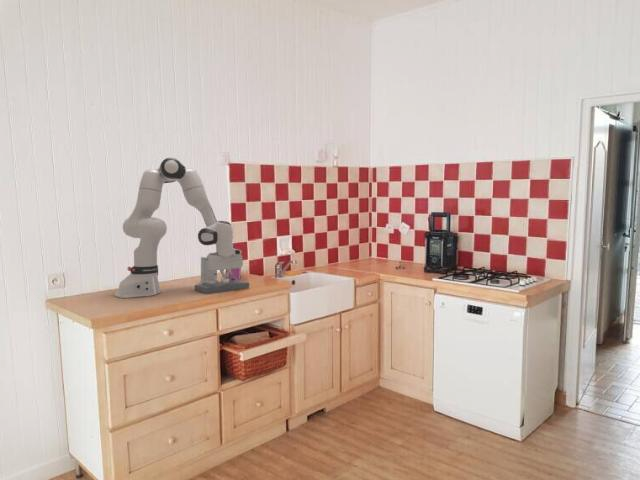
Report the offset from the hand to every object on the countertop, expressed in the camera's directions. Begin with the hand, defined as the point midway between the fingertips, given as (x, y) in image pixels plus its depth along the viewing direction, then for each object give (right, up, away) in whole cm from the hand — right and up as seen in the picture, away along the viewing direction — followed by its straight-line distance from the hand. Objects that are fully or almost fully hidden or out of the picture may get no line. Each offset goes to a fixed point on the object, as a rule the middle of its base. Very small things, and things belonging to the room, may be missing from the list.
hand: (225, 277), depth 262 cm
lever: (+2, -2, +11) cm, 11 cm away
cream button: (0, -2, 0) cm, 2 cm away
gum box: (-2, -4, +37) cm, 37 cm away
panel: (-2, -7, +2) cm, 7 cm away
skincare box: (-14, -5, +24) cm, 28 cm away
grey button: (-6, -3, -5) cm, 9 cm away
